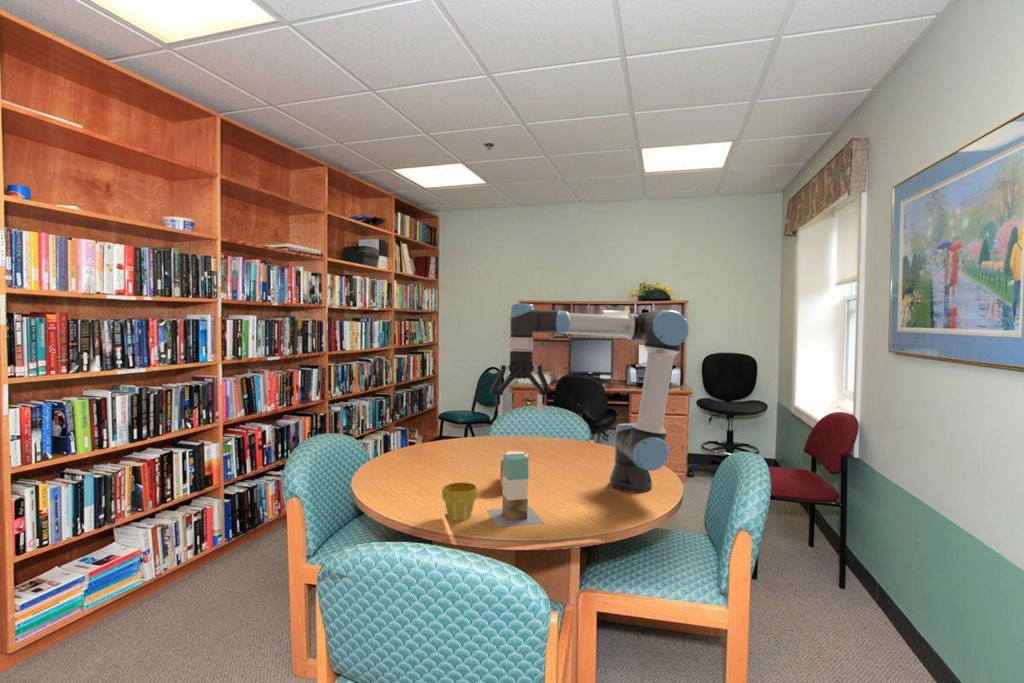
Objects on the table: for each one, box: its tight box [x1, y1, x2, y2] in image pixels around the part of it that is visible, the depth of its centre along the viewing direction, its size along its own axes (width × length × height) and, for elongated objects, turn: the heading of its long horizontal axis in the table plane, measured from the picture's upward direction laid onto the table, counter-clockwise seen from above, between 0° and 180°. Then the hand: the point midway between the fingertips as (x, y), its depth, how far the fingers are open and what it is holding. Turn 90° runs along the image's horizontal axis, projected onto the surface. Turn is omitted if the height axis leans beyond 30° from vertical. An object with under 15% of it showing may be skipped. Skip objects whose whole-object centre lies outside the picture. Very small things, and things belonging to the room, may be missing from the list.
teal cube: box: [502, 453, 529, 480], centre depth 151 cm, size 6×6×6 cm
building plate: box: [486, 506, 545, 528], centre depth 152 cm, size 14×14×1 cm
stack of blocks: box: [499, 450, 530, 494], centre depth 185 cm, size 21×6×12 cm, turn 168°
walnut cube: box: [501, 494, 529, 521], centre depth 152 cm, size 6×6×6 cm
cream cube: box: [502, 475, 529, 500], centre depth 151 cm, size 6×6×6 cm
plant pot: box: [441, 481, 478, 522], centre depth 151 cm, size 10×10×10 cm
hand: (520, 414), depth 168 cm, fingers open, 13 cm apart
